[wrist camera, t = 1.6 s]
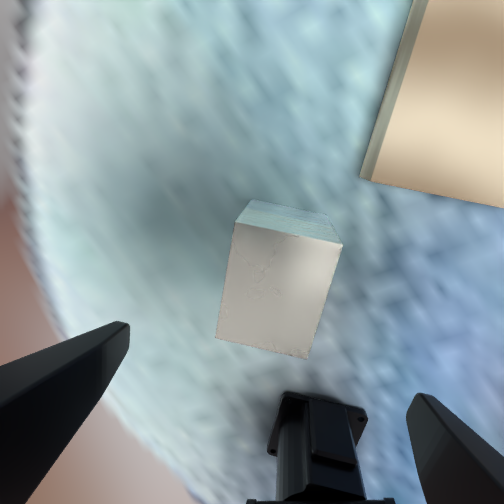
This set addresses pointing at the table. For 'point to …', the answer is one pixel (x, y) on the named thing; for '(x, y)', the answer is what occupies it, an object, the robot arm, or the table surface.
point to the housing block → (277, 278)
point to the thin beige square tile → (444, 104)
